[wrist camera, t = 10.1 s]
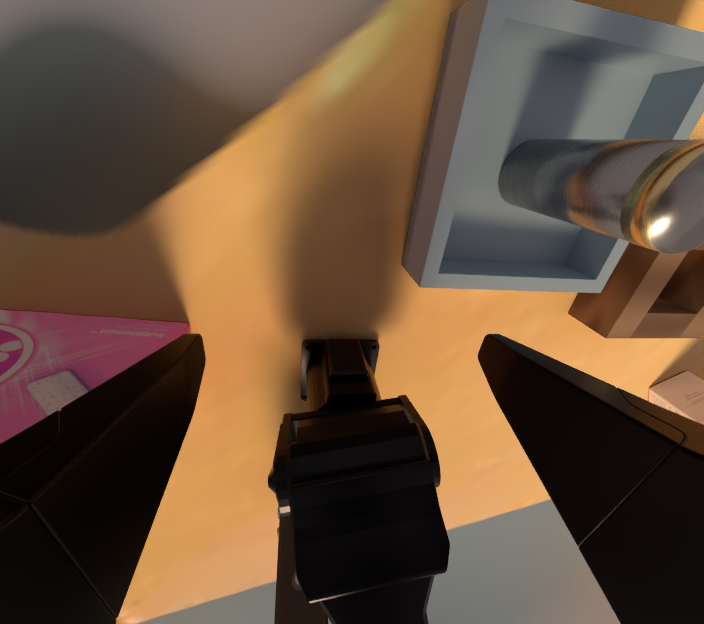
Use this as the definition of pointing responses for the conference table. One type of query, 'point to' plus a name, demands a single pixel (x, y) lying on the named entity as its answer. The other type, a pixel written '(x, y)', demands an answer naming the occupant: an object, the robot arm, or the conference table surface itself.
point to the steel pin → (613, 187)
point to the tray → (538, 134)
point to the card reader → (292, 585)
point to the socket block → (648, 296)
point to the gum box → (66, 359)
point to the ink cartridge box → (681, 396)
